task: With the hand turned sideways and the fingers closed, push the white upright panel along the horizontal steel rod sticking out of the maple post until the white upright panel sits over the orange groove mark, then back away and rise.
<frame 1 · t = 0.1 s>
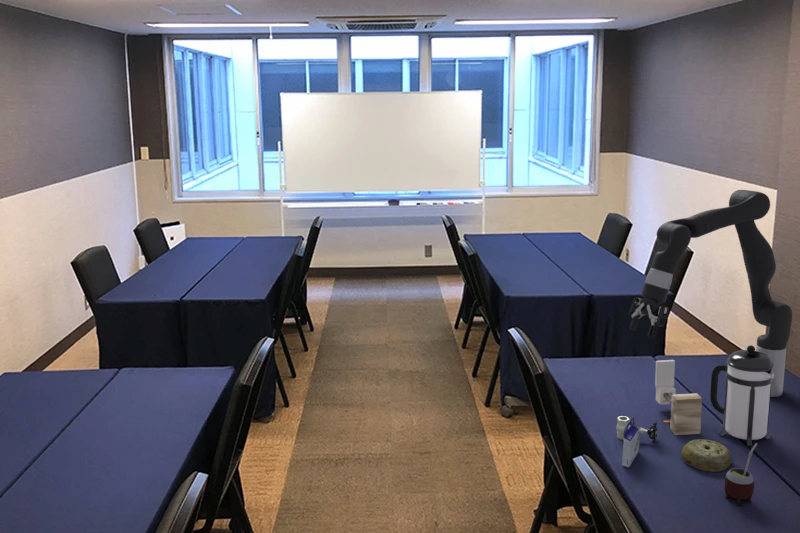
hand: (641, 333, 231), 31 cm above the table, tool tilted 20°, fingers open, 8 cm apart
mate gourd: (738, 500, 193), on the table
coffee press: (740, 436, 227), on the table
white upright panel: (666, 382, 245), point 10 cm above the table, slide at 0.0 cm
weight: (706, 462, 213), on the table
valve: (635, 440, 228), on the table
ink box: (630, 459, 217), on the table
rod stand: (673, 419, 240), on the table
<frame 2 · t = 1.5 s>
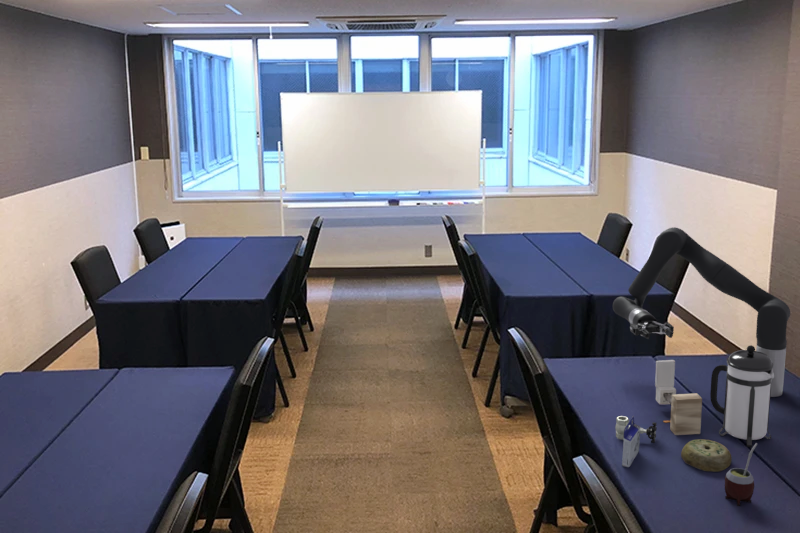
hand: (660, 335, 249), 24 cm above the table, tool horizontal, fingers open, 7 cm apart
nothing on the table moved.
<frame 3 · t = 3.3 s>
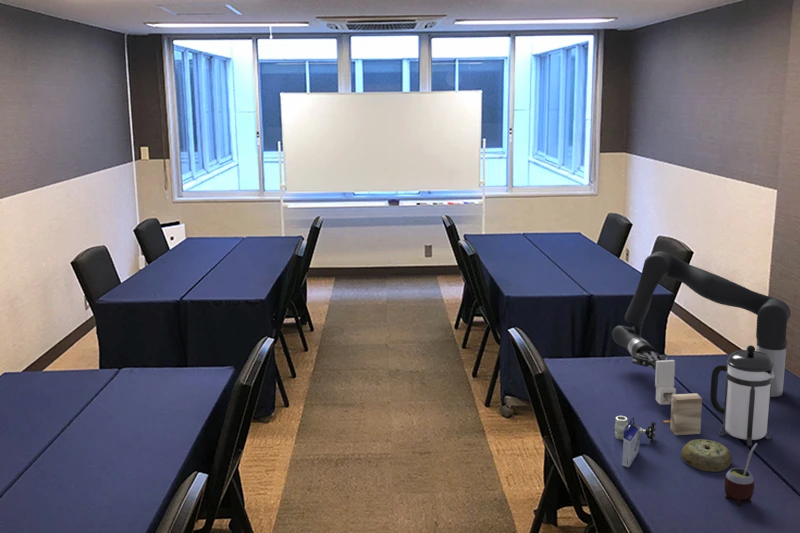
hand: (659, 367, 251), 13 cm above the table, tool horizontal, fingers closed
nothing on the table moved.
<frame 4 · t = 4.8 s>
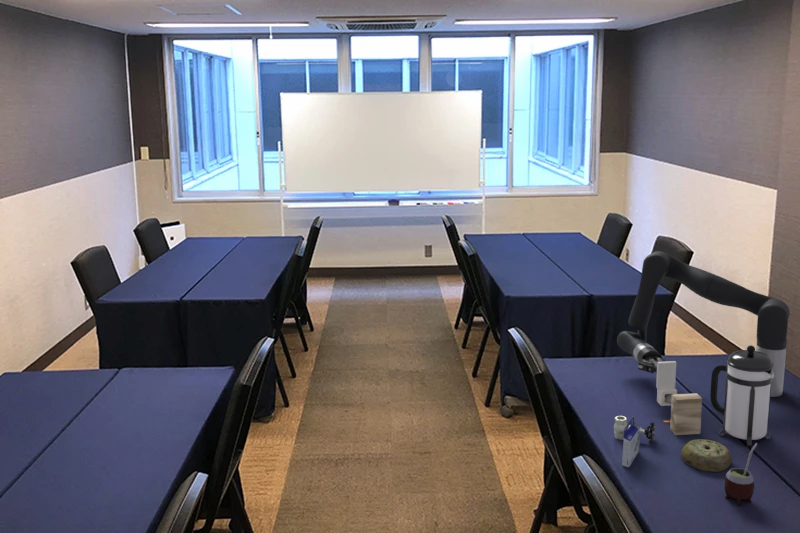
hand: (665, 374, 246), 12 cm above the table, tool horizontal, fingers closed
white upright panel: (667, 383, 244), point 10 cm above the table, slide at 1.1 cm, touching gripper
everything else where it was.
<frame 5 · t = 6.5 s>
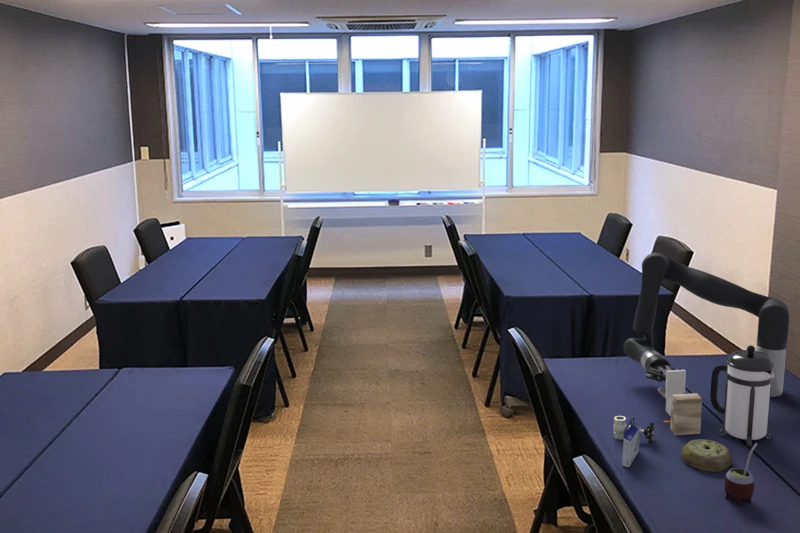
hand: (674, 383, 238), 12 cm above the table, tool horizontal, fingers closed
white upright panel: (676, 392, 237), point 10 cm above the table, slide at 9.0 cm, touching gripper
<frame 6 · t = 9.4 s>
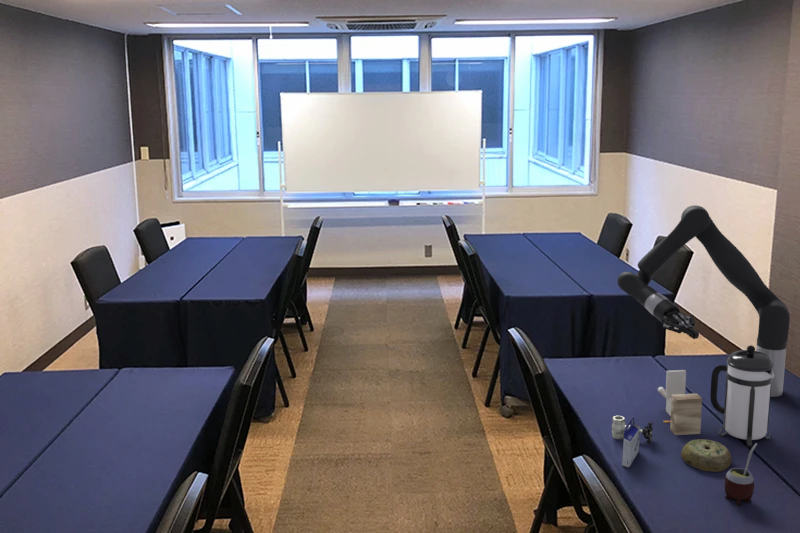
hand: (697, 336, 239), 27 cm above the table, tool tilted 70°, fingers closed
white upright panel: (677, 393, 236), point 10 cm above the table, slide at 9.1 cm
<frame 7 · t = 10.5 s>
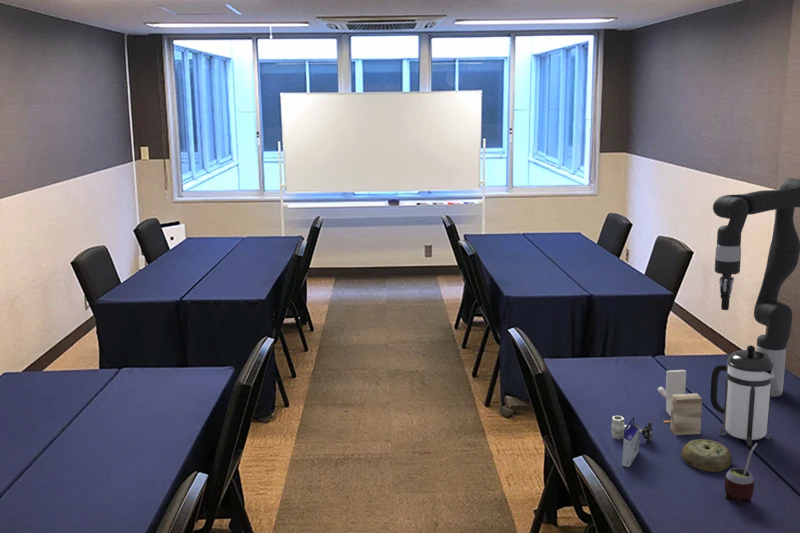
hand: (725, 309, 239), 35 cm above the table, tool pointing down, fingers closed
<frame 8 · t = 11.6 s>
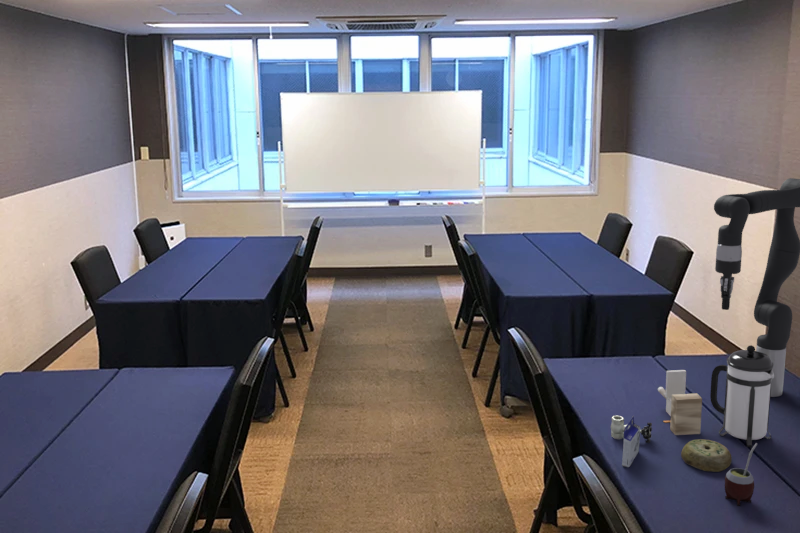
hand: (725, 309, 239), 35 cm above the table, tool pointing down, fingers closed
at the end: white upright panel slide at 9.1 cm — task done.
